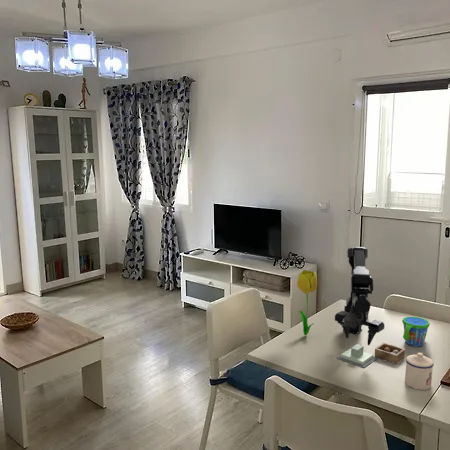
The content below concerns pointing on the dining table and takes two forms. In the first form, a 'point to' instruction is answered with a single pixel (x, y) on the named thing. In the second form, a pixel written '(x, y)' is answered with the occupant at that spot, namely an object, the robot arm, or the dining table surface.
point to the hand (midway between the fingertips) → (357, 341)
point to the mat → (358, 363)
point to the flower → (306, 285)
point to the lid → (357, 354)
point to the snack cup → (415, 330)
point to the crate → (390, 353)
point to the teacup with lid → (419, 371)
